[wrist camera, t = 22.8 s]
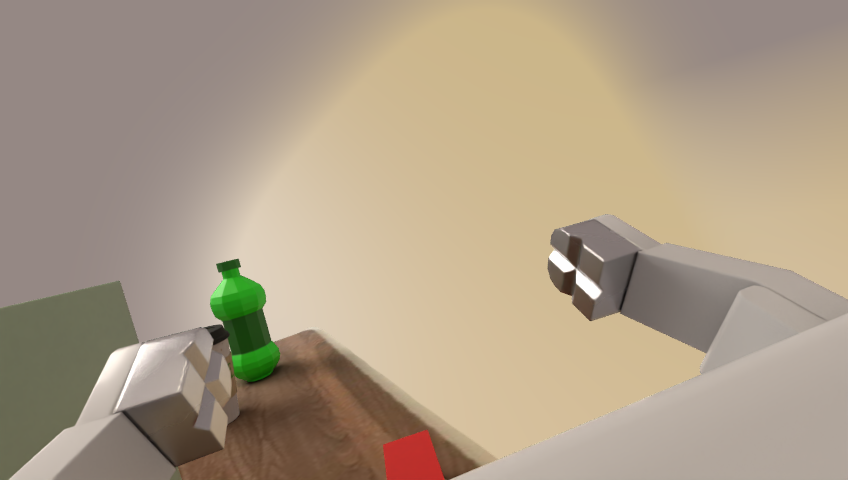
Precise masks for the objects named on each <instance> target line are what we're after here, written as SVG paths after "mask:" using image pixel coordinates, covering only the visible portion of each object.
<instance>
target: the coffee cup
mask: <svg viewBox="0 0 848 480" xmlns="http://www.w3.org/2000/svg"><path fill="white" fill-rule="evenodd" d="M204 328H205V329H207V330H208V332H209V333H210V335H211V336H212V338H213V340H214V341H213V346H212V350H213V351H216V352H218V353H221V354H222V355H223V356H224V358H225V360H226V361H227V364H228V367H229V370H230V374H231V383H232V389H231V398H230V399H229V401H228V402H227V403H226V405H225V406H224V407H223V411H224V412H225V414H226V415H227V417H228V422H227V425H228V424H229V423H231V422H232V421H233V420H235V419H236V418H237V417H238V415H239V413H240V412H239V406H238V400H237V387H236V380H235V374H234V367H233V361H232V354H231V351H230V349H229V342H228V337H229V336H230V334H229V332H228V331H227V330H225V329H224V328H223V326H222V325H213V326H208V327H204Z"/></svg>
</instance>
